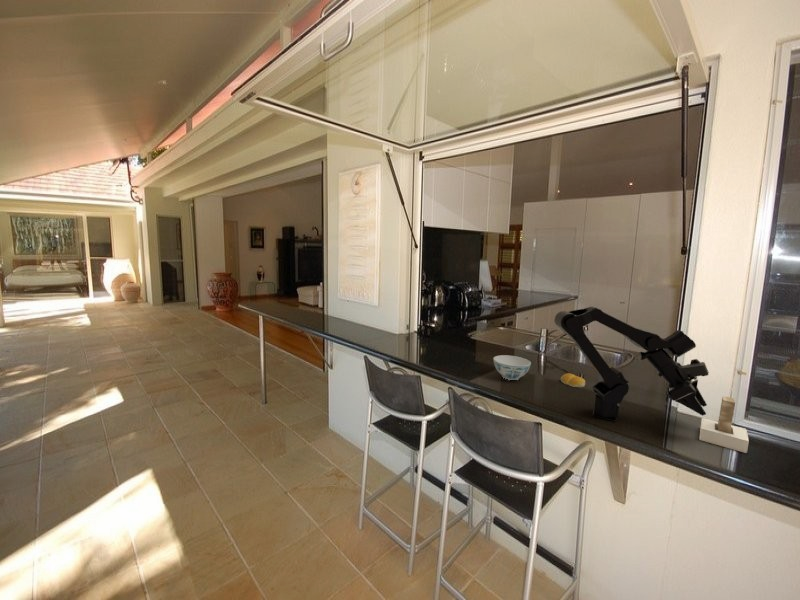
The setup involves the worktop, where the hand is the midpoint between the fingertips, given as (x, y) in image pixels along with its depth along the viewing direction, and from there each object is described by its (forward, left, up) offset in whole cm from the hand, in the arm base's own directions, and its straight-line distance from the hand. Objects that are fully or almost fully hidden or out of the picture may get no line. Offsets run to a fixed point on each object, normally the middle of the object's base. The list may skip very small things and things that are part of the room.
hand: (704, 410), depth 106 cm
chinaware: (-60, +14, -8) cm, 63 cm away
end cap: (+5, -1, -8) cm, 9 cm away
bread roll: (-37, +24, -8) cm, 46 cm away
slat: (+5, -1, -8) cm, 9 cm away
